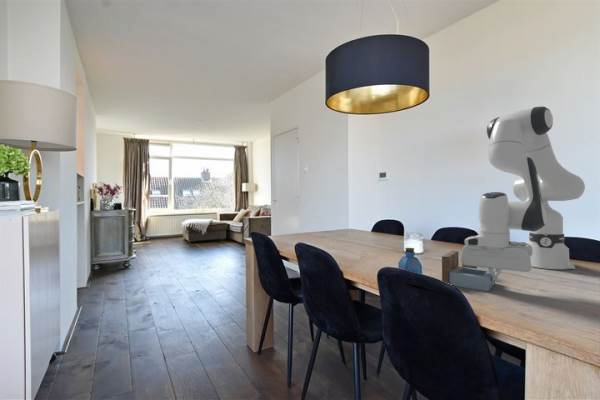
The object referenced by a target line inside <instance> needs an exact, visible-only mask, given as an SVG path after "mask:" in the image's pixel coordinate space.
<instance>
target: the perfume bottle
mask: <svg viewBox="0 0 600 400" xmlns="http://www.w3.org/2000/svg"><path fill="white" fill-rule="evenodd" d="M404 249H405V251H404V254H405V256H402V257H401V258H400V260H399V261H398V270H399V269H403V270H407V271H411V272H415V273H419V274H422V275H423V265H422V263H421V261H420V260H419V259H418V257H416V256H415V254H416V252H415V247H405V248H404Z"/></svg>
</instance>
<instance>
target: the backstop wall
mask: <svg viewBox="0 0 600 400" xmlns="http://www.w3.org/2000/svg"><path fill="white" fill-rule="evenodd" d="M459 263H460V261H459V250H451V251H449V252H447V253H446V254H444V255H442V256H441V282H442V281H443V282H446V283H449V272H451V271H452V270H454V269H455V268H456V267H458V266H459ZM459 267H460V266H459Z"/></svg>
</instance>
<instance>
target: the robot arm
mask: <svg viewBox="0 0 600 400" xmlns="http://www.w3.org/2000/svg"><path fill="white" fill-rule="evenodd" d="M553 122H554V117H553V114H552V112H551V110H550V108H548V107H546V106H535V107H533V108H525V109H520V110H518V111H514V112H512V113H508V114H506V115H502V116H500V117H496V118H494V119H492V120H490V121H489V123H488V124H487V127H486V135H487V138H488V140H489V143H488V153H487V154H488V161H489V163H490V164H491V165H492V166H493V168H495V169H497V170H500V171H501V172H504V173H507V174H508V173H509V174H512V175H516V176H518V177H520V178H517V179H516V180H515V181H514V183H513V186H512V193H513V195H514V196H515V197H516V198H517V199H518V200H520V201H509V199H508V195H507V193H505V192H500V191H495V192H494V191H491V192H486V193H483V194H482V195H480V200H479V209H478V219H479V222H480V223H479V224H480V226H479V230H478V231H479V232H478V233H479V234H477V235H471V236H468V237H467V238H465V239H464V246H462V248H463V249H462V248H461V256H460V262H461V265H462V264H463V265H466V266H475V267H477V268H486V269H487V270H488V271H489V273H490V274H491V276H492V281H493V282H495V283H499V275H500V274H501V273H502V270H504V271H515V272H521V273H522V272H525V273H529V272H530V271H531V270H532V267H534V268H538V269H539V268H540V269H548V270H576V266H575V264H572V263H571V262H570V248H569V247H568V246H567V245H565V238H566V237H565V234H564V217H563V215H562V213H560V212H559V211H558V210H555V209H553V208H552V207H551V206H550V204H549V201H550V202H567V201H572V200H578V199H580V198H581V197H582V196H583V194H584V192H585V191H586V190H585V189H586V187H585V185H586V184H585V182H584V180H583V179H582V178H581V177H580V176H579V175H576V174H574V173H572V172H570V171H568V170H567V169H566V168H565V167H563V166H562V165H561V163H559V161H558V160H557V158H556V155H555V152H554V150H553V147H552V143H551V140H550V138H549V135H548V132H550V130H551V129H552V128H553V124H554V123H553ZM510 230H522V231H525V232H526V231H527V232H529V234H528V238H529V242H528V243H527V242H523V241H521V242H519V241H511V233H510V232H511V231H510ZM493 271H495V274H494V273H493Z"/></svg>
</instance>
